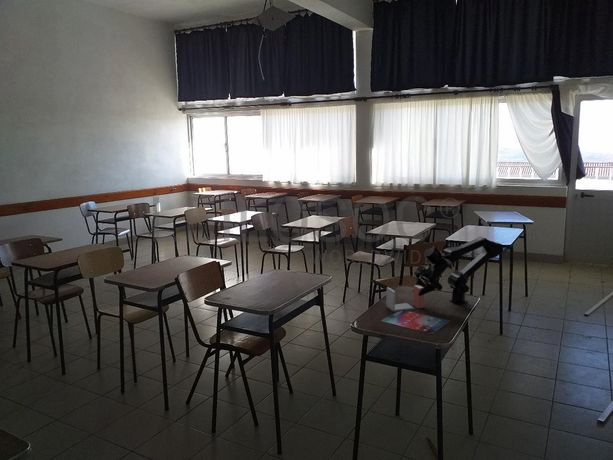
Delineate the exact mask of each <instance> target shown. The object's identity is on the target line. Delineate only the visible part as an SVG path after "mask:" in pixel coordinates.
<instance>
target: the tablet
mask: <svg viewBox="0 0 613 460" xmlns="http://www.w3.org/2000/svg"><path fill="white" fill-rule="evenodd" d="M380 322H381V323H382V322H383V323H385V324H388V325H389V324H390V325H391V326H392V325H393V326H397V327H401V328H405V329H407V330H412V331H416V332H420V333H423V334H425V335H430V336H431V335H434V334H435V333H437V332H438V331H440V330H441V329H442V328H443V327H445V326H446V325H448V324H449V323H450V320H448V319H444V318H441V317H440V318H439V317H435V316H431V315H428V314H423V313H418V312H416V311H415V312H414V311H411V310H407V311H406V310H405V311H397V312H392V313H391V314H389V315H388V316H386V317H384V318H383V319H380Z"/></svg>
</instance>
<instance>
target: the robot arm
mask: <svg viewBox="0 0 613 460" xmlns="http://www.w3.org/2000/svg"><path fill="white" fill-rule="evenodd" d="M479 248H482V251H481V252H480V254H478V255H477V256H475V258H474V259H473V260H472V261H470V262H469V263H467V265H466V266H465V267H464V268H462V270H457V269H455V270H453V272H451V273H450V274H449V276H448V277H447V284H448V285H449V287H450V289H451V290H452V294H451V299H449V302H451V303H454V304H456V305H462V304H466V303H468V302H469V301H468V300H466V293H469V291H470V287H469V286H468V285H467V284H468V282H469V279H470V277H471V276H472V275H473V274H474V273H475V272H477V270H479V269H480V268H481V267H482V266H484V265H485V264H486V263H487V262H488V261H489V260H490V259H494V258H496V257H497V258H498V256H499V255H501V254H502V253H503V252H504V246H503V244H502V243H500V242H497V241H492V240H489V239H487V237H483V236H478V237H476V238H474V239H472V240H470V241H468V242H466V243H463V244H461V245H459V246H458V245H457V246H451V247H447V248H445V249H443V250H438V247H436V246H434V245H433V246H432V247H430V248H428V249H426V250H425V251H424V253H423V256H424V257H425V258H426V259H427V260H428V262H429V263H430V264H432V266H423V265H421V264H418V266H417V268H416V270H415V272H413V275H414V277H415V278H416V282H415V285H420V286H422V287H423V289H422V290H421V291H420V293H419V294H418V295H419V296H421V295H424V296H425V295H426V294H428V293H431V292H435V291H437V292H440V293H441V291H442V290H443V285H442V284H441V282H439V281H438V279H439V278H440V279H441V278H442V277H443V276H442V274H444V272H445V271H446V270H447V269H449V270H452V269H453V267H452V263H456V262H457V261H459V260H460V259H461V258H463V256H464V255H466V254H468V253H470V252H473V251H474V250H477V249H479ZM412 292H414V288H413V290H412Z"/></svg>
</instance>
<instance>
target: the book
mask: <svg viewBox="0 0 613 460" xmlns="http://www.w3.org/2000/svg"><path fill="white" fill-rule="evenodd" d="M413 289H414V292H413V291H412V292H413V294H412V295H413V297H412V305H413V306H414V307H416V308H417V309H423V308H425V306H424V305H425V294H424V295H421V296H419V295H418V294H419V293H420V291H421V290H422V289H423V287H422V286H420V285H416V284H415V285H413Z"/></svg>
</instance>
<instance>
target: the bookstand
mask: <svg viewBox="0 0 613 460" xmlns="http://www.w3.org/2000/svg"><path fill="white" fill-rule="evenodd" d="M385 308H387V309H388V310H389V311H391V313H395V312H397V311H405V310H406V311H413V310H414V309H415V308H414V307H413V306H412V305H410V304H409V303H407V302H403V303H396V291H395V290H393V289H392V288H390V287H386V305H385Z"/></svg>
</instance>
